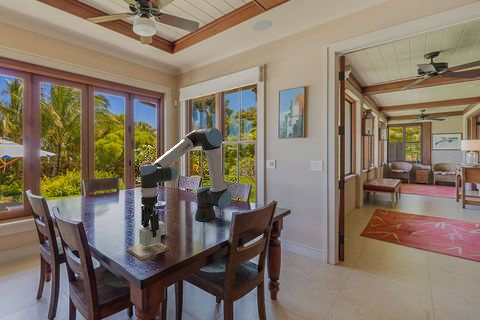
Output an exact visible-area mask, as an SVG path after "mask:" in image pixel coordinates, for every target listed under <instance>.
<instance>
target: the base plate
mask: <svg viewBox="0 0 480 320" xmlns="http://www.w3.org/2000/svg"><path fill="white" fill-rule="evenodd" d="M126 249H127V250H126V251H127V252H128V253H129V254H131V255H133V256H134V257H135V258H136V259H138V260H139V261H142V260H145V259H147V258H150V257H152V256H155V255H158V254H160V253H164V252H166V251H168V250H169V246H167V245H165V244H164V243H161V242H158V243H155V244H152V245H148V246H144V245H142V244H140V243H139V244H136V245H132V246H130V247H127V248H126Z"/></svg>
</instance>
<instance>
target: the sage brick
mask: <svg viewBox="0 0 480 320" xmlns="http://www.w3.org/2000/svg"><path fill="white" fill-rule="evenodd" d="M138 229H139V230H138V231H139V232H138V235H139V236H138V237H139V240H138V241H139V244H142V245H144V246H148V245H152V244H151V235H150V230H151V226H150V227H146V228H144V227H142V228H138ZM156 238H157V243H158V242H160V243H161V240H162V239H161V238H162V235H161V228H160V227H159V230H157V231H156ZM154 244H155V243H154Z"/></svg>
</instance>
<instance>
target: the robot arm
mask: <svg viewBox="0 0 480 320" xmlns="http://www.w3.org/2000/svg"><path fill="white" fill-rule="evenodd" d="M181 138H182V139H181V141H180V142H179V143H177V144H176V145H174V146H173V147H172V148H171V149H170V150H168V151H167V152H166V153H164V154H163V155H162V156H160V157H159V158H158V159H157V160H155V161H154V162H152V163H151V164H142V165H141V167H140V174H139V175H140V186H141V187H140V195H141V198H140V200H141V202H140V203H141V205H142V206H140V210H141V211H140V213H141V215H140V216H141V217H140V218H141V219H140V221H141V222H140V225H141V226H142V228H146V227H148V226H150V225H151V230H150V235H151V244H154V243H157V238H156V231H157V230H159V221H160V219H159V212H160V210H159V209H157V208H156V204H157V203H158V183H164V182H172V181H176V180H177V179H178V175H179V174H178V173H179V172H178V169H177V168H176V167H174V166H172V165H173V164H175V163H176V162H177V161H178V160H179V159H180V158H182V157H183V156H184V155H185V154H186V153H188V151H192V150H193V149H195V148H197V147H201V149H202V152H204V154H205V158H206V164H207V170H208V175H209V179H210V185H208V186H201V187H198V188H197V189H196V211H195V214H194V221H197V222H203V221H205V222H210V220H212V221H214V220H213V219H215V218H216V219H217V215H216V212H215V211H216V210H215V209H214V207H217V208H219V209H220V208H223V209H224V208H227V207H229V205H230V204H231V201H232V199H233V194H232V192H231V191H230V190H228V186H227V185H226V184H225V183H224V176H223V171H222V170H223V169H222V163H221V157H220V153H219V151H220V149H221V146H222V144H223V140H224V137H223V134H222V132H221V131H220V130H219V129H218V128H217V127H202V128H195V129H193V130H191V131H190V132H189V133H187V134H186V135H184V136H183V137H181ZM216 219H215V220H216ZM149 223H150V225H149Z"/></svg>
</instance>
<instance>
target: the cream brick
mask: <svg viewBox="0 0 480 320" xmlns="http://www.w3.org/2000/svg"><path fill="white" fill-rule="evenodd" d="M165 224H166V223H165V222H164V221H162V220H159V227H160V228H161V236H163V235H165V234H166V233H165V232H166V231H165V230H166V228H165V227H166V225H165ZM149 225H150V222H149ZM150 226H151V225H150ZM150 226H148V227H150Z"/></svg>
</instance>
